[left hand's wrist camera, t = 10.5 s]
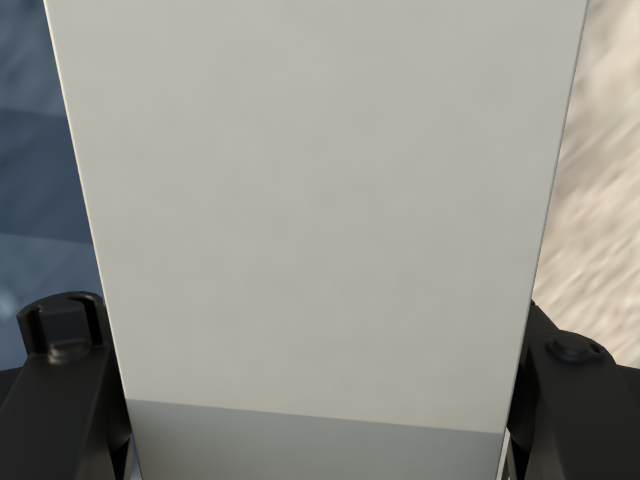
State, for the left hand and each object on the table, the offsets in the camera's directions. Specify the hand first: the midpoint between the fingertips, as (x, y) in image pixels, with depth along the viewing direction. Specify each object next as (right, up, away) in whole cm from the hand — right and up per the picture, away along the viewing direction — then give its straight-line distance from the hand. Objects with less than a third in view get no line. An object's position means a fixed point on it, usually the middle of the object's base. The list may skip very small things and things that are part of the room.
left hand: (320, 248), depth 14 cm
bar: (0, +20, -7) cm, 21 cm away
